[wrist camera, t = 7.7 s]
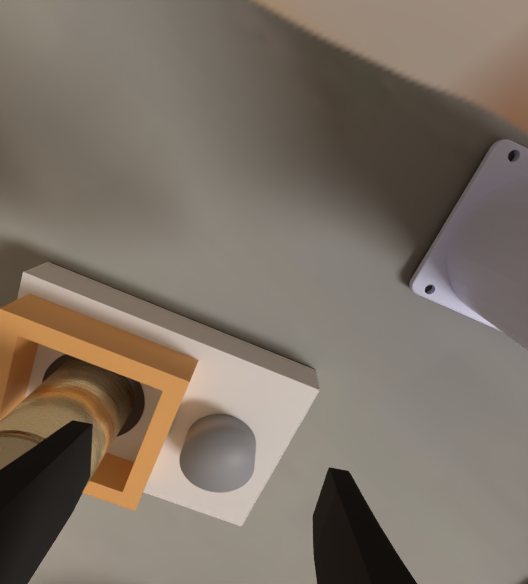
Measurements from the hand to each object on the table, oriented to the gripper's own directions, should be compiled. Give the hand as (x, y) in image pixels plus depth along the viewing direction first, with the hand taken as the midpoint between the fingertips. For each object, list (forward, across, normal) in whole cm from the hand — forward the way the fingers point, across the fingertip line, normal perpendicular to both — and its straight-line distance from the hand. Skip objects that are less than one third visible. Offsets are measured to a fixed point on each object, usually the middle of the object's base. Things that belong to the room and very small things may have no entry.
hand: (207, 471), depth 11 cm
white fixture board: (+10, +4, +5) cm, 12 cm away
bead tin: (+8, +7, +4) cm, 11 cm away
